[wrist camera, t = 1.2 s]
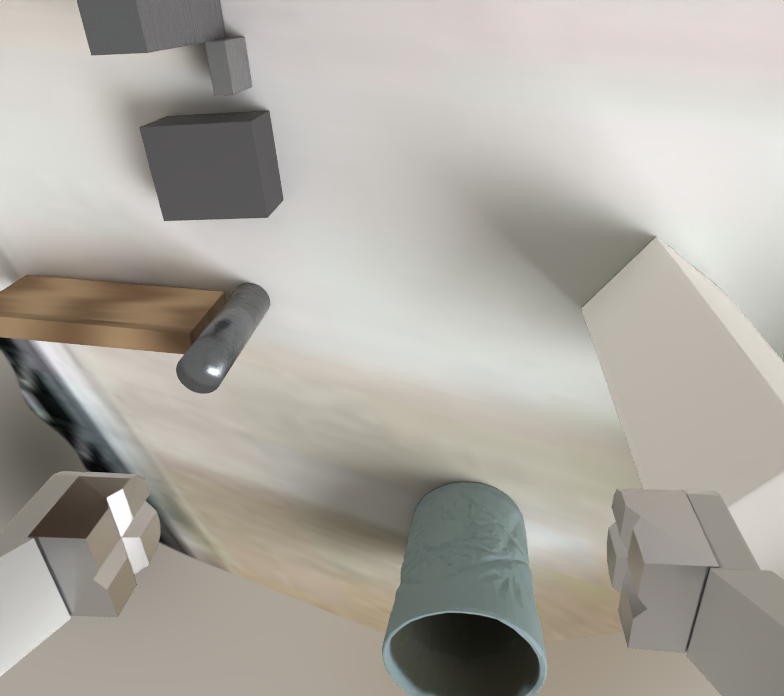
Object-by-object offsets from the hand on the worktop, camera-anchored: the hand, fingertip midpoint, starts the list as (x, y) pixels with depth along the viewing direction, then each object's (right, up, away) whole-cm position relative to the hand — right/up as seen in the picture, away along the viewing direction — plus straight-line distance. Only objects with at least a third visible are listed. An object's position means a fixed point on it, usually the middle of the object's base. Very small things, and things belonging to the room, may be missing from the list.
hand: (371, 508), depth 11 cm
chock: (-9, +14, +25) cm, 30 cm away
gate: (-17, +6, +29) cm, 34 cm away
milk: (+16, +6, +26) cm, 31 cm away
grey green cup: (+6, -11, +37) cm, 39 cm away
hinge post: (-9, +6, +29) cm, 31 cm away
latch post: (-9, +19, +21) cm, 30 cm away
